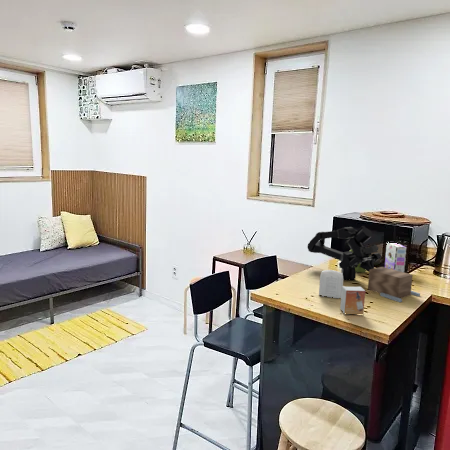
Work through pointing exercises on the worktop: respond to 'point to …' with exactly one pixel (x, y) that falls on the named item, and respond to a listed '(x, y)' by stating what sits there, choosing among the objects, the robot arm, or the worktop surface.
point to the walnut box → (390, 282)
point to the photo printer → (331, 283)
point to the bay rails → (396, 297)
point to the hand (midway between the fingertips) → (374, 274)
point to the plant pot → (359, 269)
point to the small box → (352, 300)
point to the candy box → (395, 256)
